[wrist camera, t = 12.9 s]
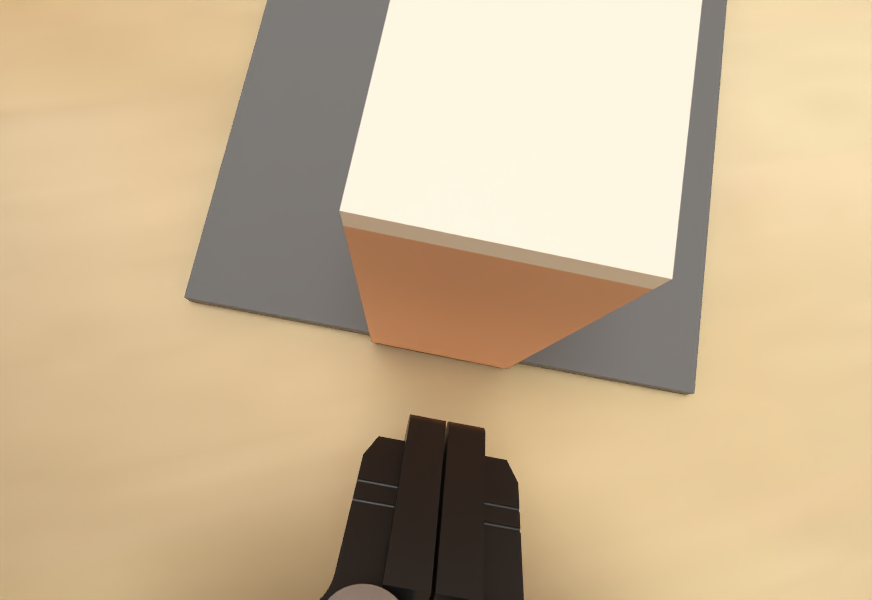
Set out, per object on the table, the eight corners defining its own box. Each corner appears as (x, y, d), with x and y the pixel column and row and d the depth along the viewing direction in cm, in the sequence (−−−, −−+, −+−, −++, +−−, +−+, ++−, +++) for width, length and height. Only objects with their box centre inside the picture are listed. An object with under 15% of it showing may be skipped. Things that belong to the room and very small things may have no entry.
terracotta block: (371, 341, 20) (339, 210, 8) (399, 213, 21) (407, -72, 9) (506, 369, 20) (672, 279, 8) (527, 240, 21) (703, -8, 9)
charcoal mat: (190, 301, 20) (184, 297, 19) (310, -133, 24) (308, -147, 23) (685, 394, 21) (694, 393, 20) (723, -46, 25) (731, -57, 24)
